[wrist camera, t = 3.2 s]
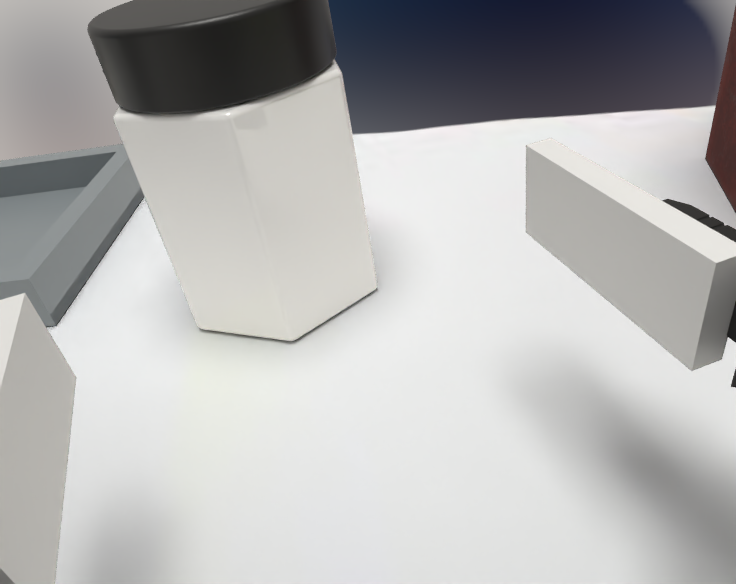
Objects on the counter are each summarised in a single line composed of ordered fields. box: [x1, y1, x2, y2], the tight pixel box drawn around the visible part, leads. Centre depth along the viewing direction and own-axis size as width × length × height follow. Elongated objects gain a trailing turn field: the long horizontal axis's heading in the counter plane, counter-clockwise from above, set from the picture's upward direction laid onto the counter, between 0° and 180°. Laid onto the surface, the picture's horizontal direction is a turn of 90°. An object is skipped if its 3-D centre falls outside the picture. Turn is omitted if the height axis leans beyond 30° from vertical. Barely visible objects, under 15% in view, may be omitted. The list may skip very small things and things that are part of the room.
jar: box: [88, 0, 377, 341], centre depth 24 cm, size 9×8×12 cm
